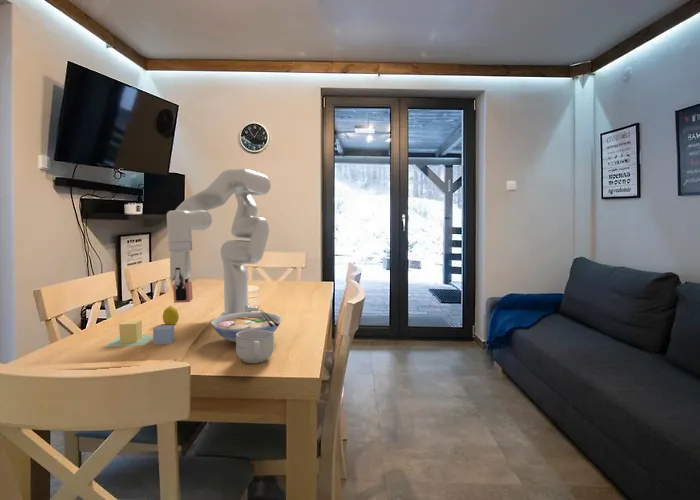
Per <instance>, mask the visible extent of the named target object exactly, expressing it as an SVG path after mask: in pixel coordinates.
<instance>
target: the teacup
mask: <svg viewBox="0 0 700 500" xmlns="http://www.w3.org/2000/svg"><path fill="white" fill-rule="evenodd" d="M274 339H275V332H274V333H273V332H271V331H267V330H245V331H240V332H238V333H236V342H235V352H236V355H237V358H239V359H240V360H241V361H242V362H244V363H246V362H247V364H260V363H259V362H261V363H263V361H264V362H266V361H267V360H268V359H270V357H271V356H272V355H273V352H274V342H275V341H274Z"/></svg>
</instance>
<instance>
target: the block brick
mask: <svg viewBox="0 0 700 500" xmlns="http://www.w3.org/2000/svg"><path fill="white" fill-rule="evenodd" d="M192 284H193V282H191V281H189V282H185V288H186V300H181V301H177V300H176V285H175V284H173V285H172V290H173V303H174V304H177V303H178V304H179V303H190V302H191V301H192V300H193V299H194V297H193V285H192Z"/></svg>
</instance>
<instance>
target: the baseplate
mask: <svg viewBox="0 0 700 500" xmlns="http://www.w3.org/2000/svg"><path fill="white" fill-rule="evenodd" d="M152 339H153V334H142V338H141V339H140V340H139V341H138V342H132V343H120V335H118V336H117V337H115V338H114V339H112V340H111V341H109V342H108V343H107V344H105V345H104V346H103V348H106V347H107V348H109V347H110V348H111V347H112V348H113V347H136V346H137V347H138V346H146V345H148V343H149V342H150V341H151V340H152Z"/></svg>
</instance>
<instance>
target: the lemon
mask: <svg viewBox="0 0 700 500" xmlns="http://www.w3.org/2000/svg"><path fill="white" fill-rule="evenodd" d="M179 317H180V314H179V310H178V309H177V308H175V307H174V306H172V305H169V306H168V307H166V308H165V309H164V311H163V313H162V321H163V323H164V324H165V325H174V326H175V325H176V324H177V323H178V321H179Z"/></svg>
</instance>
